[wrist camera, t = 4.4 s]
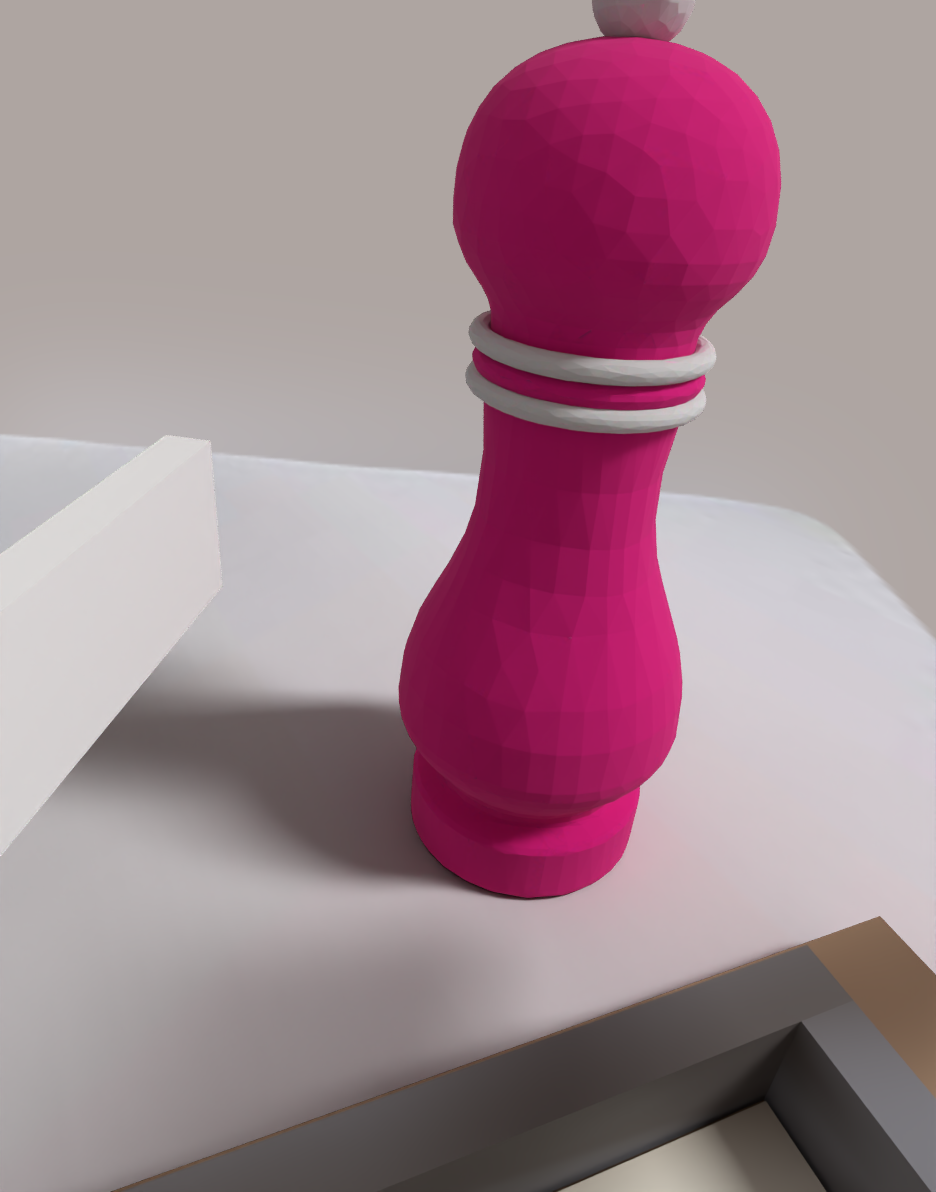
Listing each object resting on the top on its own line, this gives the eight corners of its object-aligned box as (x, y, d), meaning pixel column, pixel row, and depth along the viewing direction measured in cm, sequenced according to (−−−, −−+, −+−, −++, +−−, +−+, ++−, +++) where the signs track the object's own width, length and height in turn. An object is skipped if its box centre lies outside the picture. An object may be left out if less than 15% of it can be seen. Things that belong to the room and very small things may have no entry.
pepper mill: (447, 705, 28) (509, -46, 17) (663, 767, 26) (874, -31, 16) (349, 862, 22) (355, -139, 11) (620, 957, 20) (917, -133, 10)
